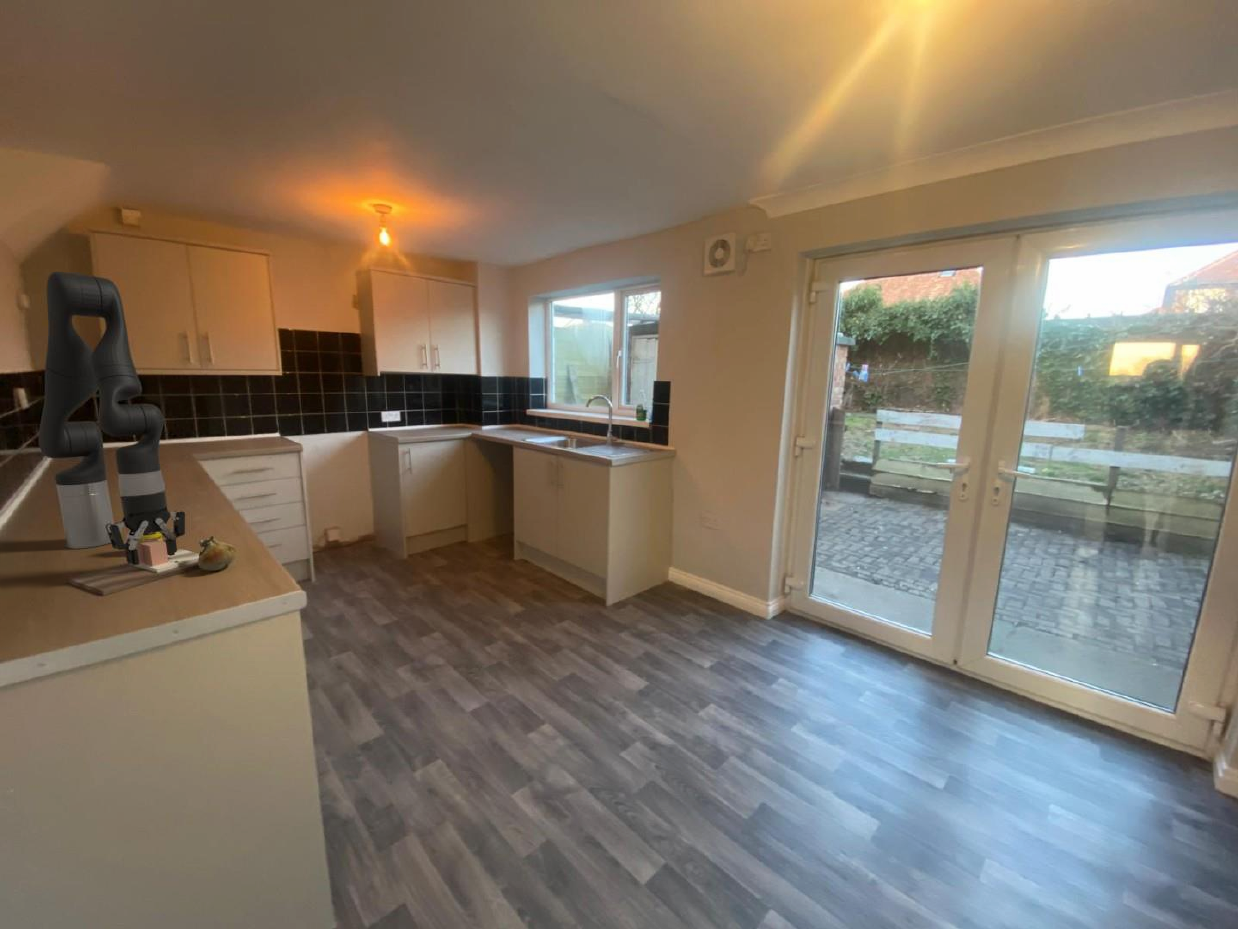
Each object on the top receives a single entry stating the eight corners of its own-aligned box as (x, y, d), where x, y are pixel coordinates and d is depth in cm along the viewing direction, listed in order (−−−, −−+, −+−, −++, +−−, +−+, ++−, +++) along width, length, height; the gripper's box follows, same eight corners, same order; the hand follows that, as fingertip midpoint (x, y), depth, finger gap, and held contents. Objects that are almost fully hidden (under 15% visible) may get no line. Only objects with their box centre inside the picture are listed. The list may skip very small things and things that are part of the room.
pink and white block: (130, 564, 118) (126, 541, 117) (151, 559, 121) (147, 536, 120) (157, 572, 113) (153, 548, 112) (178, 566, 116) (175, 543, 116)
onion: (192, 578, 113) (187, 544, 112) (203, 566, 120) (199, 534, 119) (233, 573, 116) (229, 540, 115) (241, 561, 123) (238, 531, 122)
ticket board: (67, 582, 109) (66, 574, 109) (176, 554, 128) (175, 547, 127) (104, 595, 103) (102, 587, 103) (213, 564, 121) (212, 556, 121)
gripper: (171, 483, 122) (180, 548, 125) (92, 495, 109) (104, 567, 112) (189, 486, 119) (198, 552, 122) (109, 499, 106) (121, 572, 109)
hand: (153, 559), depth 117 cm, fingers open, 6 cm apart
